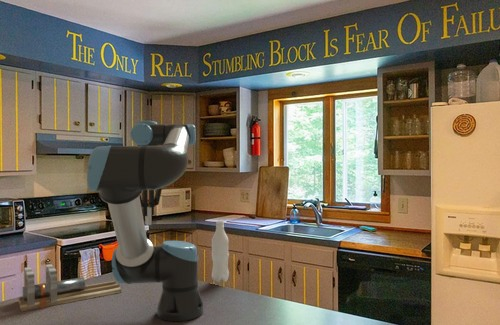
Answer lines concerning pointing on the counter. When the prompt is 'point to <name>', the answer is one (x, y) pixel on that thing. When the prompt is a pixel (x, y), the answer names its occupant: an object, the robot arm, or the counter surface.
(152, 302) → the counter surface
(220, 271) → the water bottle
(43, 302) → the rail
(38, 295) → the tube
